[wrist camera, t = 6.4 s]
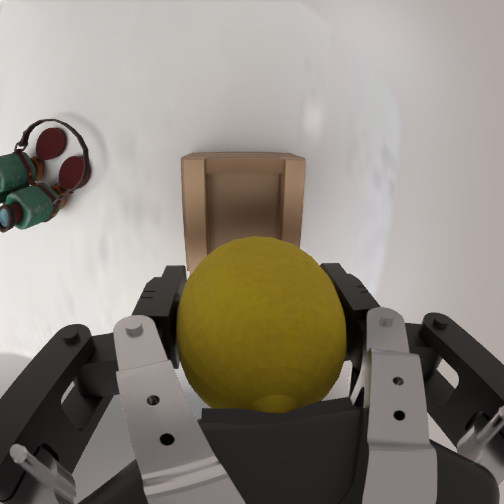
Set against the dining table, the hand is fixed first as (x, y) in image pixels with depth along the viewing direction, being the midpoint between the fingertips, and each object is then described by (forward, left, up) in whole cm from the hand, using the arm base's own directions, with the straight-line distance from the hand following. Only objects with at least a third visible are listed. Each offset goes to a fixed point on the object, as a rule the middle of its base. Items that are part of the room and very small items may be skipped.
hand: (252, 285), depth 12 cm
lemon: (0, 0, -2) cm, 2 cm away
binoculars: (-5, -19, -17) cm, 26 cm away
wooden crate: (0, 0, -16) cm, 16 cm away
